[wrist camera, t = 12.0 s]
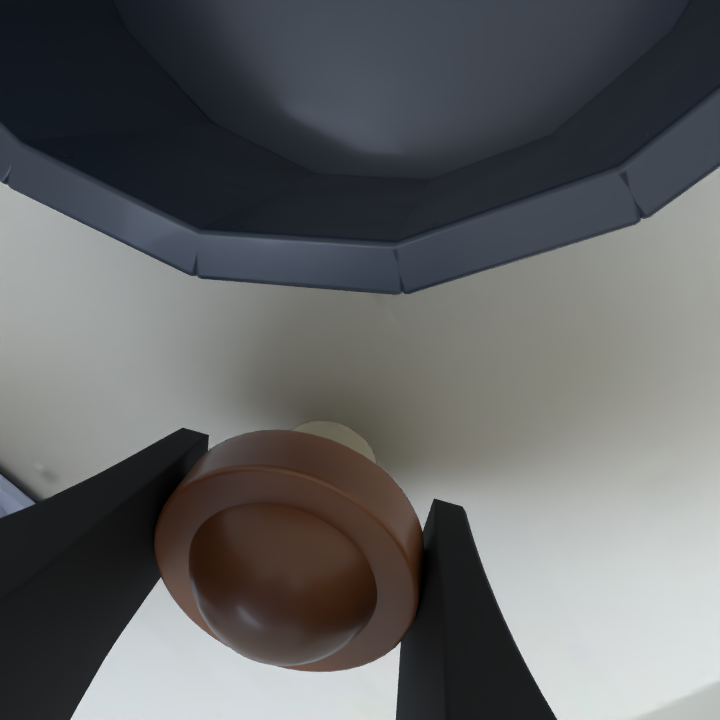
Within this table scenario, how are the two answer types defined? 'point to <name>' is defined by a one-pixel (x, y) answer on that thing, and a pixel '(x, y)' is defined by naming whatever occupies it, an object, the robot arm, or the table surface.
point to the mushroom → (294, 549)
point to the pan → (357, 128)
